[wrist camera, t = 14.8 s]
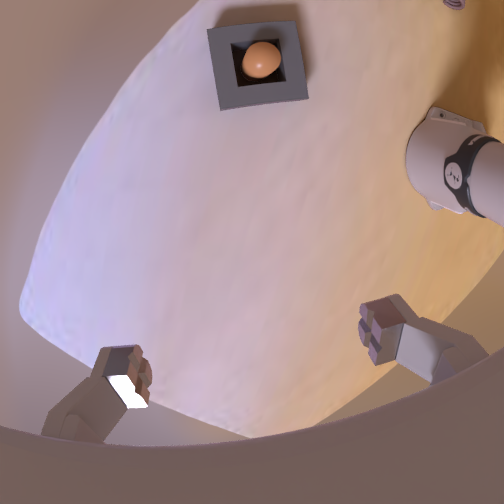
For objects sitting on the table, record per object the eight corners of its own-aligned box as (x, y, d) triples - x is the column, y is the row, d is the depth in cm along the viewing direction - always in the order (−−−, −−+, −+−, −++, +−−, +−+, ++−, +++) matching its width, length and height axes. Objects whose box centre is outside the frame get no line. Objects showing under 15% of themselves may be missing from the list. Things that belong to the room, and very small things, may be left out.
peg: (267, 54, 34) (277, 40, 27) (271, 79, 36) (283, 71, 28) (238, 57, 34) (242, 43, 27) (242, 83, 36) (248, 75, 28)
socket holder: (286, 30, 32) (295, 20, 28) (298, 100, 37) (308, 98, 33) (208, 39, 32) (206, 29, 28) (220, 110, 37) (220, 109, 32)
